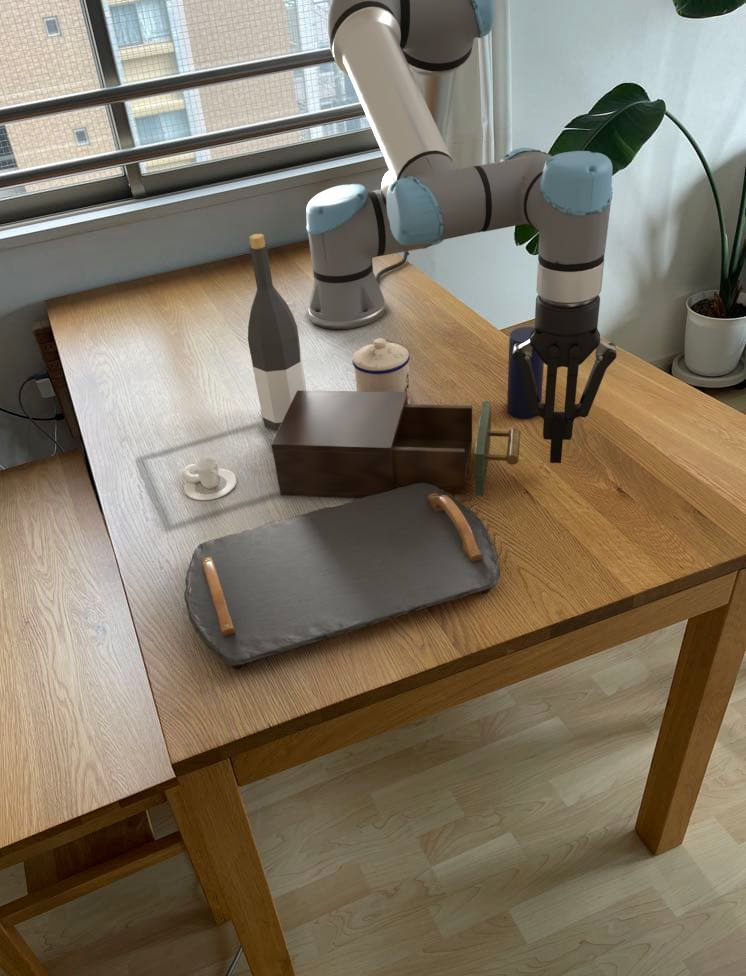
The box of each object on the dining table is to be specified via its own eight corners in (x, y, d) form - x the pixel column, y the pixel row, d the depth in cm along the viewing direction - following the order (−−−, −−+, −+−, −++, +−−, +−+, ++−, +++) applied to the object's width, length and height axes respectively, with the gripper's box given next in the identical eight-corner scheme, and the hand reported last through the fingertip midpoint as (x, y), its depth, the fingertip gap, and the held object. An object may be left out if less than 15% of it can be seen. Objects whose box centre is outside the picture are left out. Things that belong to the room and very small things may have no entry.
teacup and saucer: (178, 478, 125) (171, 456, 122) (227, 463, 127) (222, 441, 124) (191, 508, 118) (185, 486, 116) (243, 492, 120) (238, 469, 118)
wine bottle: (256, 414, 137) (221, 234, 118) (300, 400, 139) (273, 221, 120) (272, 436, 131) (238, 251, 112) (318, 422, 133) (292, 237, 114)
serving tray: (208, 691, 91) (196, 653, 87) (176, 565, 108) (165, 529, 104) (523, 593, 98) (526, 554, 94) (446, 489, 115) (445, 453, 111)
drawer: (520, 442, 121) (522, 401, 116) (516, 497, 110) (517, 455, 106) (387, 438, 125) (384, 399, 121) (371, 491, 115) (367, 450, 111)
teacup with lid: (418, 413, 131) (415, 347, 124) (363, 424, 131) (357, 358, 123) (399, 379, 141) (395, 316, 133) (348, 389, 140) (341, 326, 133)
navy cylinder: (507, 401, 132) (510, 326, 123) (541, 402, 130) (545, 326, 122) (506, 418, 128) (508, 342, 119) (540, 419, 127) (545, 342, 118)
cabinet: (410, 442, 125) (407, 392, 120) (394, 500, 114) (390, 448, 109) (304, 439, 129) (297, 390, 123) (280, 495, 118) (270, 444, 113)
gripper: (623, 281, 99) (603, 443, 114) (514, 282, 102) (509, 441, 117) (626, 307, 94) (605, 474, 109) (511, 308, 97) (506, 471, 112)
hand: (555, 457), depth 113 cm, fingers closed
